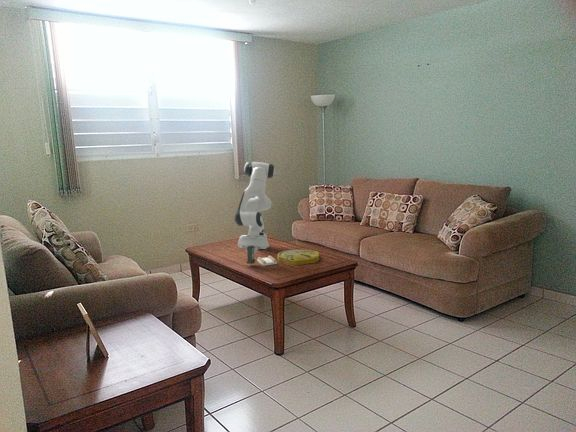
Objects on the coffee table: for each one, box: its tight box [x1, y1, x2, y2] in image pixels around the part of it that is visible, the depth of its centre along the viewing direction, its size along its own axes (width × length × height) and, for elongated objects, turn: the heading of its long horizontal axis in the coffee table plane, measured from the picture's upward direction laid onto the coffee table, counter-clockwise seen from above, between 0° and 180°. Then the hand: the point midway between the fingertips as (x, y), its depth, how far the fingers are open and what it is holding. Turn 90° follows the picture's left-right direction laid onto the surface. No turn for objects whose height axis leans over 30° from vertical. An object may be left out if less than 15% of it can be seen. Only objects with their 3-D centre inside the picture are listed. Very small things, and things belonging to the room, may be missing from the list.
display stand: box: [256, 255, 278, 266], centre depth 301 cm, size 13×10×3 cm
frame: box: [246, 245, 257, 265], centre depth 293 cm, size 6×4×11 cm
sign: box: [277, 249, 320, 266], centre depth 308 cm, size 28×3×30 cm
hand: (250, 253), depth 292 cm, fingers closed on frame, 3 cm apart
